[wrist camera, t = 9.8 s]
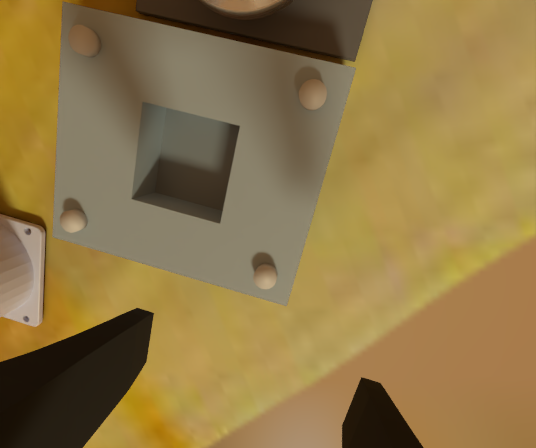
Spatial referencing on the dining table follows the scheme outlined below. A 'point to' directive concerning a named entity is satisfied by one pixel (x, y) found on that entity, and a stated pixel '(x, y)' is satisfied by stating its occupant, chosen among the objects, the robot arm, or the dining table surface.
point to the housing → (191, 149)
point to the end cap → (246, 7)
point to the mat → (280, 23)
